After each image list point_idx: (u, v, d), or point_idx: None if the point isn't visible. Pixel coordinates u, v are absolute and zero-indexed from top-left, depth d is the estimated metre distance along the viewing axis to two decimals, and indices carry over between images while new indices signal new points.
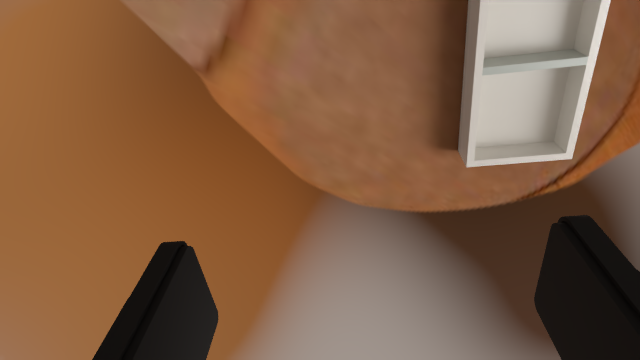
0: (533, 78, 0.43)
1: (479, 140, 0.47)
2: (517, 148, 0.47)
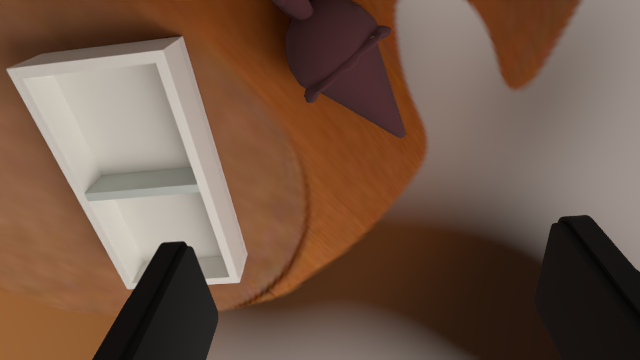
0: (179, 195, 0.37)
1: (153, 254, 0.41)
2: None
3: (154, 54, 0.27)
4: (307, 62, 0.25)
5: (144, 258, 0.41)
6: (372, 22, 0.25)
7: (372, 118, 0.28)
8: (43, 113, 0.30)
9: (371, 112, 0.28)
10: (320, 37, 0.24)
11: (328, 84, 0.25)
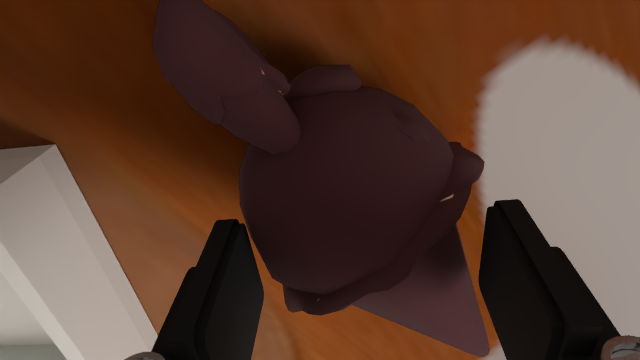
0: None
1: None
2: None
3: None
4: (283, 256, 0.10)
5: None
6: (446, 156, 0.10)
7: (426, 334, 0.13)
8: None
9: (427, 327, 0.13)
10: (317, 209, 0.09)
11: (334, 311, 0.10)
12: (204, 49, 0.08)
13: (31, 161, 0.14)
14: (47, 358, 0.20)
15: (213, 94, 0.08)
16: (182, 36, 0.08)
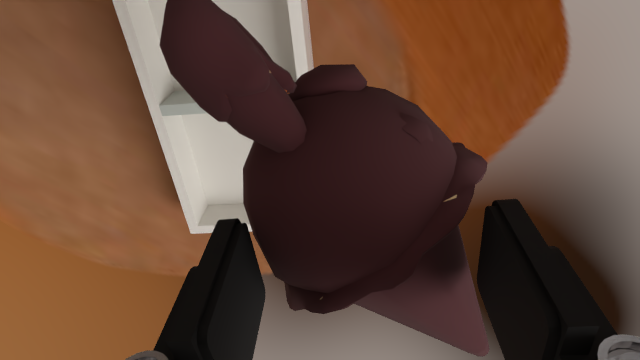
0: None
1: (220, 195, 0.35)
2: None
3: None
4: (287, 254, 0.10)
5: (208, 201, 0.36)
6: (450, 156, 0.10)
7: (427, 333, 0.13)
8: None
9: (428, 326, 0.13)
10: (322, 208, 0.09)
11: None
12: (212, 47, 0.08)
13: None
14: None
15: (220, 92, 0.08)
16: (190, 34, 0.08)
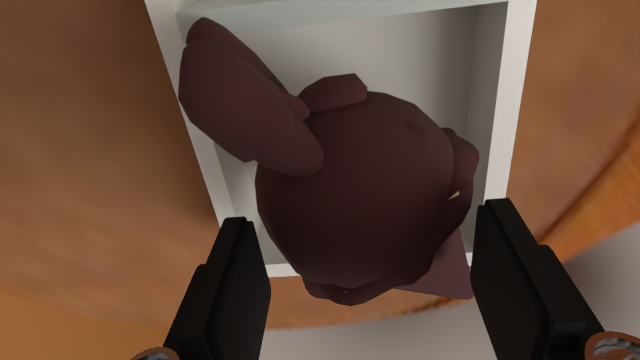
0: (380, 55, 0.16)
1: None
2: None
3: None
4: (314, 263, 0.11)
5: None
6: (450, 155, 0.11)
7: (426, 292, 0.15)
8: None
9: None
10: (347, 226, 0.10)
11: (362, 301, 0.12)
12: (241, 105, 0.08)
13: None
14: None
15: (249, 142, 0.08)
16: (217, 95, 0.08)
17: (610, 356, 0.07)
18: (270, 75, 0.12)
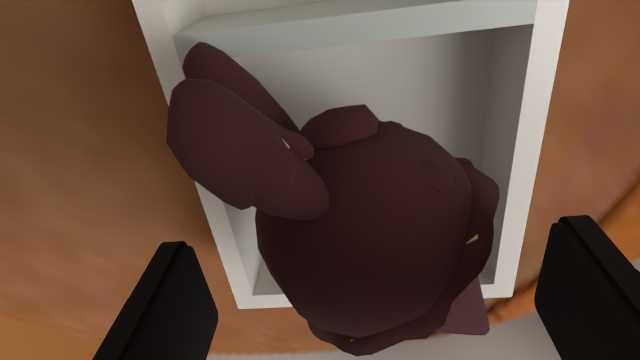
0: (391, 76, 0.15)
1: None
2: None
3: None
4: (318, 311, 0.10)
5: None
6: (468, 194, 0.10)
7: None
8: None
9: None
10: (355, 277, 0.09)
11: None
12: (236, 153, 0.07)
13: None
14: None
15: (245, 191, 0.07)
16: (209, 143, 0.07)
17: None
18: (273, 104, 0.11)
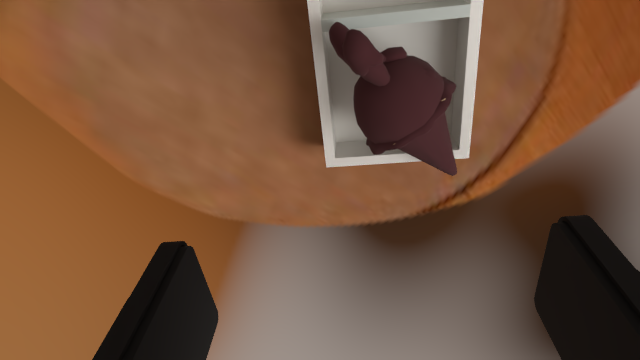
0: (410, 43, 0.31)
1: (350, 131, 0.35)
2: None
3: None
4: (382, 126, 0.26)
5: (336, 138, 0.35)
6: (442, 83, 0.26)
7: (431, 163, 0.30)
8: None
9: (432, 159, 0.29)
10: (399, 106, 0.25)
11: (402, 146, 0.26)
12: (367, 51, 0.23)
13: None
14: (404, 6, 0.28)
15: (367, 66, 0.23)
16: (360, 47, 0.23)
17: None
18: None
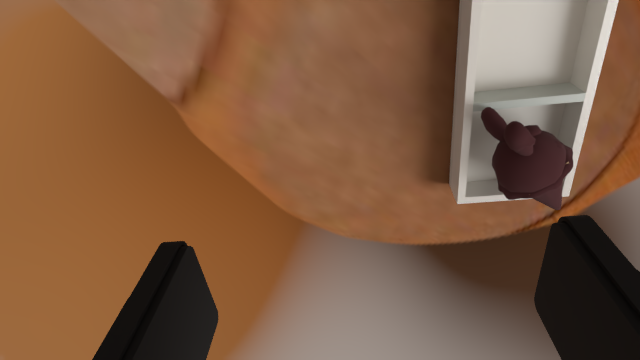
0: (527, 112, 0.41)
1: (471, 174, 0.45)
2: None
3: None
4: (524, 183, 0.36)
5: None
6: (565, 150, 0.36)
7: (545, 203, 0.40)
8: (479, 22, 0.34)
9: (548, 200, 0.40)
10: (539, 170, 0.35)
11: (536, 196, 0.37)
12: (526, 137, 0.33)
13: None
14: (530, 89, 0.39)
15: (524, 146, 0.34)
16: (522, 135, 0.33)
17: None
18: (506, 124, 0.37)
